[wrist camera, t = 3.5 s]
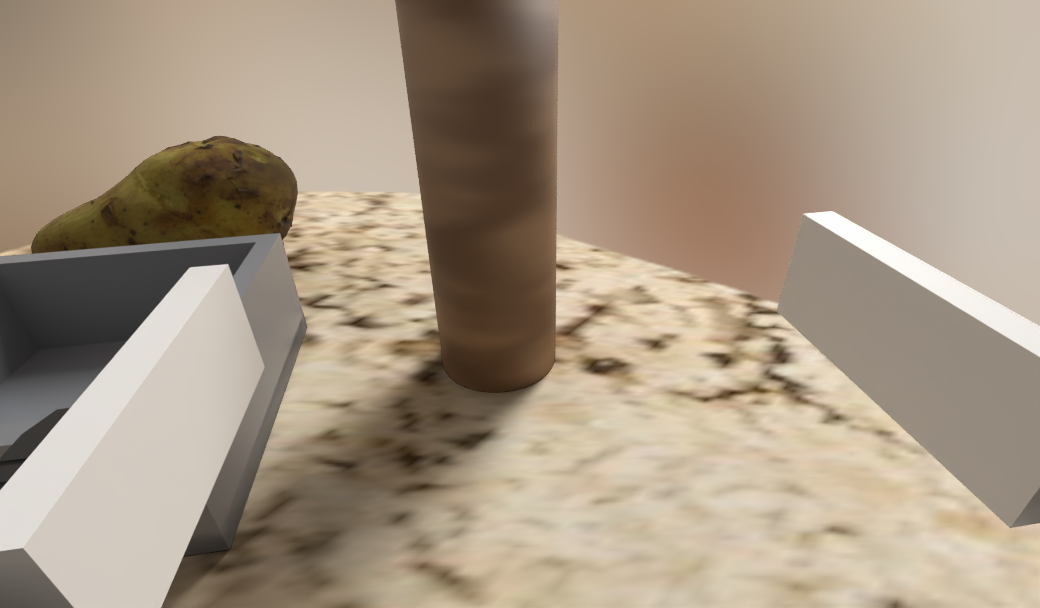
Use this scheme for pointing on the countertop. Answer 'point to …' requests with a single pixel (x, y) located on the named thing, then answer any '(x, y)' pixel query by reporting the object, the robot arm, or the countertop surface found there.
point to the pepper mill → (487, 179)
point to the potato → (183, 200)
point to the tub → (114, 319)
